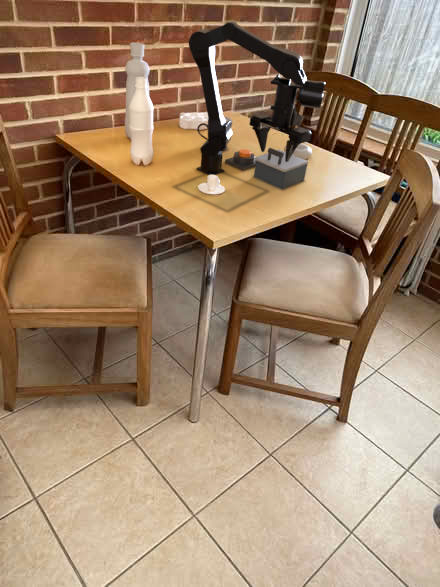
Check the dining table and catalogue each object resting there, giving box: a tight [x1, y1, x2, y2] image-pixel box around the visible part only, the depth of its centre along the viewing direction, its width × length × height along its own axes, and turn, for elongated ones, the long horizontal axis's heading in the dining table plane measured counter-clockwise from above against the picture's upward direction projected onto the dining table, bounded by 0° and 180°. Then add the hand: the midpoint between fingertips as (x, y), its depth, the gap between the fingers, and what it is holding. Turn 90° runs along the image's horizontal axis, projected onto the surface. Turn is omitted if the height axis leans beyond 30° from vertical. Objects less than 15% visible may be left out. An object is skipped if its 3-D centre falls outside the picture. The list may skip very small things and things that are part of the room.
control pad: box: [224, 150, 256, 172], centre depth 152 cm, size 10×8×3 cm
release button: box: [238, 148, 252, 158], centre depth 151 cm, size 4×4×2 cm
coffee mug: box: [196, 115, 234, 152], centre depth 159 cm, size 12×9×10 cm
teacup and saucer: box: [197, 174, 226, 195], centre depth 133 cm, size 9×8×4 cm
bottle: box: [124, 42, 151, 140], centre depth 153 cm, size 9×9×30 cm
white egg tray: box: [178, 111, 208, 131], centre depth 180 cm, size 3×18×15 cm
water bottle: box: [129, 77, 155, 166], centre depth 137 cm, size 7×7×25 cm
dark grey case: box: [253, 160, 309, 191], centre depth 143 cm, size 12×12×6 cm
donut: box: [283, 143, 313, 160], centre depth 163 cm, size 10×4×10 cm
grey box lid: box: [255, 147, 309, 172], centre depth 140 cm, size 12×12×4 cm
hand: (274, 156), depth 137 cm, fingers open, 9 cm apart
